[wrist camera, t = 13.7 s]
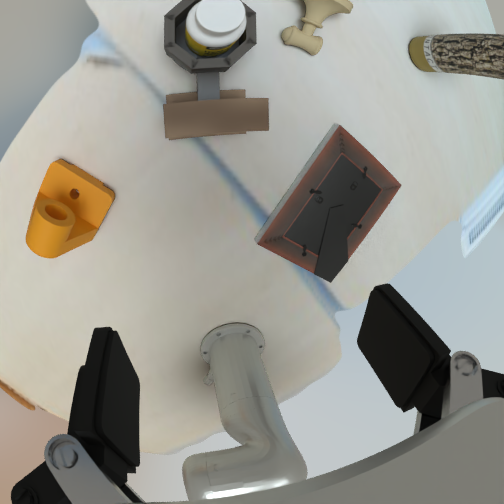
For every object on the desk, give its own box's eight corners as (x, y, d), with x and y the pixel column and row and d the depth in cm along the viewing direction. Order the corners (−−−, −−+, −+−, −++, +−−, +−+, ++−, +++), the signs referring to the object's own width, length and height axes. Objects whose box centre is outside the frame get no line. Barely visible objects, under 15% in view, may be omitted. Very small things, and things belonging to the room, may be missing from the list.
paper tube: (429, 39, 33) (544, 44, 12) (435, 72, 36) (551, 91, 15) (404, 35, 32) (528, 32, 11) (410, 70, 36) (537, 85, 15)
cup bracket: (244, 132, 37) (274, 146, 25) (169, 138, 35) (161, 155, 23) (241, 17, 29) (270, -21, 17) (165, 21, 27) (157, -20, 15)
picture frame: (325, 275, 53) (393, 181, 46) (330, 283, 50) (402, 185, 44) (253, 237, 45) (332, 123, 39) (257, 244, 43) (340, 125, 37)
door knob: (334, 65, 30) (278, 41, 27) (315, 56, 36) (266, 37, 33) (363, 7, 24) (307, -21, 21) (339, 7, 29) (291, -15, 26)
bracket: (118, 192, 37) (95, 226, 27) (96, 232, 39) (72, 275, 28) (59, 155, 32) (19, 177, 22) (41, 197, 34) (2, 231, 23)
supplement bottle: (200, 67, 26) (206, 50, 18) (176, 31, 24) (173, 3, 15) (242, 45, 26) (265, 23, 18) (219, 10, 23) (233, -23, 15)
